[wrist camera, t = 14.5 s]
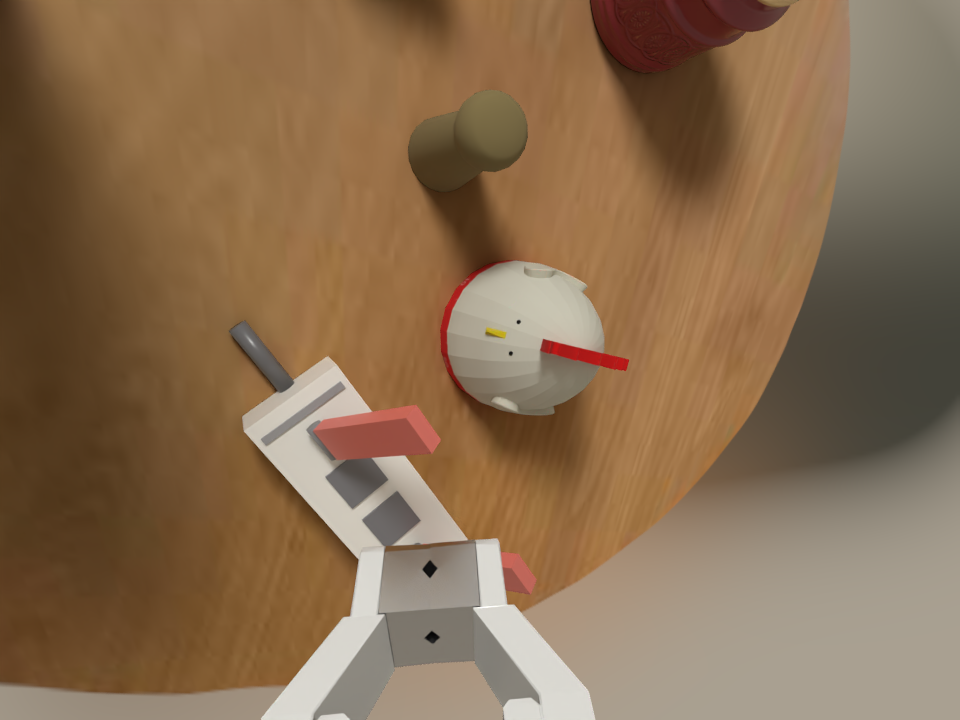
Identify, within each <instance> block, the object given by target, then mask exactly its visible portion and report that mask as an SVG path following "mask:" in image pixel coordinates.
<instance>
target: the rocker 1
mask: <svg viewBox="0 0 960 720" xmlns="http://www.w3.org/2000/svg"><path fill="white" fill-rule="evenodd" d="M306 431H307V432H308V433H309V435H310V436H311V437H312V438H313V439H314V441H315V442H316V443H317V444H318V445H319V447H320V448H321V449H322V450H323V451H324V453H325V454H326V455H327V456H328V457H329V459H330V460H331V461H333V460H349V459H363V458H376V457H390V456H404V455H418V454H432V453H433V451H434V450H435V448H436V447H437V445H438V444H439V442H440V441H441V439H440V438H439V437H438V435H437V434H436V432H435V431H434V429H433V428H432V427H431V425H430V424H429V422H428V421H427V420H426V418H425V417H424V415H423V414H422V412H421V411H420V410H419V408H418V407H417V405H413V406H406V407H400V408H394V409H387V410H381V411H375V412H368V413H362V414H356V415H349V416H343V417H337V418H330V419H324V420H322V421H320V420H318V421H315V422H314V423H312V424H311V425H310V426H309V427H308V428H307V430H306Z"/></svg>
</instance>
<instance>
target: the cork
mask: <svg viewBox="0 0 960 720" xmlns="http://www.w3.org/2000/svg"><path fill="white" fill-rule="evenodd" d="M527 138H528V132H527V121H526V118H525V114H524V112H523V111H522V109H521V107H520V105H519V104H518V103H517V102H516V101H515V100H514V99H513V98H512V97H511V96H510V95H508V94H506V93H504V92H502V91H496V90H485V91H481V92H478V93H475V94H474V95H472V96H471V97H470V98H469V99H467V100H466V101H465V102H464V103H463V104H462V106H461V108H460V109H459V111H456V112H452V113H448V114H444V115H441V116H437V117H433V118H430V119H427V120H424V121H423V122H422V123H421V124H419V125H418V126H417V127H416V129H415V130H414V132H413V133H412V135H411V138H410V142H409V146H408V154H409V162H410V164H411V167H412V170H413V172H414V174H415V175H416V176H417V178H418V179H419V181H420V182H422V183H423V184H424V185H425V186H427V187H428V188H430V189H433V190H435V191H438V192H450V191H453V190H456V189H459V188H460V187H461V186H463V185H464V184H466V183H467V182H468V181H470V180H471V179H473V178H474V177H475V176H477V175H478V174H480V173H481V172H482V171H487V172H496V171H499V170H502V169H505V168H508V167H509V166H511V165H512V164H513V163H514V162H515V161H517V160H518V159H519V157H520V156H521V154H522V152H523V151H524V149H525V146H526V142H527Z"/></svg>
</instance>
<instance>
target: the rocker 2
mask: <svg viewBox="0 0 960 720" xmlns="http://www.w3.org/2000/svg"><path fill="white" fill-rule="evenodd" d="M423 544H425V543H423ZM414 545H420V543H415V544H414ZM501 560H502V568H503V575H504V583H505V590H507V591H513V592H519V593H525V594H531V592H532V590H533V587H534V585H535V583H536V578H535V577H534V575H533V574H532V573H531V571H530V570H529V568H528V567H527V566H526V564H525V563H524V561H523V560H522V558H521V557H520V556H519V554H514V553H505V552H501Z"/></svg>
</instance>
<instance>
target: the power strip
mask: <svg viewBox="0 0 960 720" xmlns="http://www.w3.org/2000/svg"><path fill="white" fill-rule="evenodd" d="M229 332H230V334H231V335H232V336H233V337H234V339H235V340H236V341H237V342H238V343H239V345H240V346H241V347H242V348H243V349H244V351H245V352H246V353H247V354H248V355H249V357H250V358H251V359H252V360H253V361H254V363H255V364H256V365H257V366H258V368H259V369H260V370H261V371H262V372H263V374H264V375H265V376H266V377H267V378H268V380H269V381H270V382H271V383H272V384H273V386H274V387H275V388H276V389H277V392H276V393H274V394H273V395H272V396H270V397H269V398H267V399H266V400H265V401H263V402H262V403H260V404H259V405H257V406H256V407H255V408H253V409H252V410H250V411H249V412H248V413H246V414H245V415H243V416H242V418H243V428H244V432H245V433H246V434H247V435H248V436H249V438H250V439H251V440H252V441H253V442H254V443H255V444H256V445H257V446H258V448H259V449H260V450H261V451H262V452H263V453H264V454H265V455H266V457H267V458H268V459H269V460H270V461H271V462H272V463H273V464H274V465H275V467H276V468H277V469H278V470H279V471H280V472H281V473H282V474H283V476H284V477H285V478H286V479H287V480H288V481H289V482H290V483H291V485H292V486H293V487H294V488H295V489H296V490H297V491H298V492H299V493H300V495H301V496H302V497H303V498H304V499H305V500H306V501H307V502H308V504H309V505H310V506H311V507H312V508H313V509H314V510H315V511H316V512H317V514H318V515H319V516H320V517H321V518H322V519H323V520H324V521H325V523H326V524H327V525H328V526H329V527H330V528H331V529H332V530H333V532H334V533H335V534H336V535H337V536H338V537H339V538H340V539H341V540H342V542H343V543H344V544H345V545H346V546H347V547H348V548H349V549H350V551H351V552H352V553H353V554H354V555H355V556H356V557H357V558H358V559H359V556H360V552H361V550H362V547H377V546H396V545H414V544H415V543H420V544H423V543H425V544H431V543H440V542H452V541H465V540H468V539H467V538H466V536H465V535H464V534H463V532H462V531H461V530H460V528H459V527H458V526H457V524H456V523H455V522H454V520H453V519H452V518H451V516H450V515H449V514H448V512H447V511H446V510H445V508H444V507H443V506H442V504H441V503H440V502H439V500H438V499H437V498H436V496H435V495H434V494H433V492H432V491H431V490H430V488H429V487H428V486H427V484H426V483H425V482H424V481H423V479H422V478H421V477H420V475H419V474H418V473H417V471H416V470H415V469H414V467H413V466H412V465H411V463H410V462H409V461H408V459H407V458H406V457H405V455H404V456H390V457H376V458H363V459H349V460H333V461H331V460H330V459H329V457H328V456H327V455H326V454H325V453H324V451H323V450H322V449H321V448H320V447H319V445H318V444H317V443H316V442H315V441H314V439H313V438H312V437H311V436H310V435H309V433H308V432H307V431H306V430H307V428H308V427H309V426H310V425H311V424H312V423H314V422H315V421H318V420H320V421H322V420H324V419H330V418H337V417H343V416H349V415H356V414H362V413H368V412H372V411H371V410H370V409H369V407H368V406H367V405H366V403H365V402H364V401H363V399H362V398H361V397H360V395H359V394H358V393H357V391H356V390H355V389H354V387H353V386H352V385H351V383H350V382H349V381H348V379H347V378H346V377H345V375H344V374H343V373H342V371H341V370H340V369H339V367H338V366H337V365H336V364H335V363H334V362H333V361H332V360H331V359H330V358H329V357H328V356H327V357H325V358H324V359H323V360H321V361H320V362H318V363H317V364H316V365H314V366H313V367H311V368H310V369H308V370H307V371H306V372H304V373H303V374H301V375H300V376H299V377H297V378H296V379H294V380H292V378H291V377H290V376H289V375H288V373H287V372H286V371H285V370H284V368H283V367H282V366H281V365H280V363H279V362H278V361H277V360H276V358H275V357H274V356H273V355H272V353H271V352H270V351H269V350H268V348H267V347H266V346H265V345H264V344H263V342H262V341H261V340H260V339H259V337H258V336H257V335H256V334H255V332H254V331H253V330H252V329H251V327H250V326H249V325H248V324H247V322H246V321H242V322H240V323H239V324H237V325H236V326H234V327H233V328H231V329H230V330H229Z"/></svg>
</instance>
